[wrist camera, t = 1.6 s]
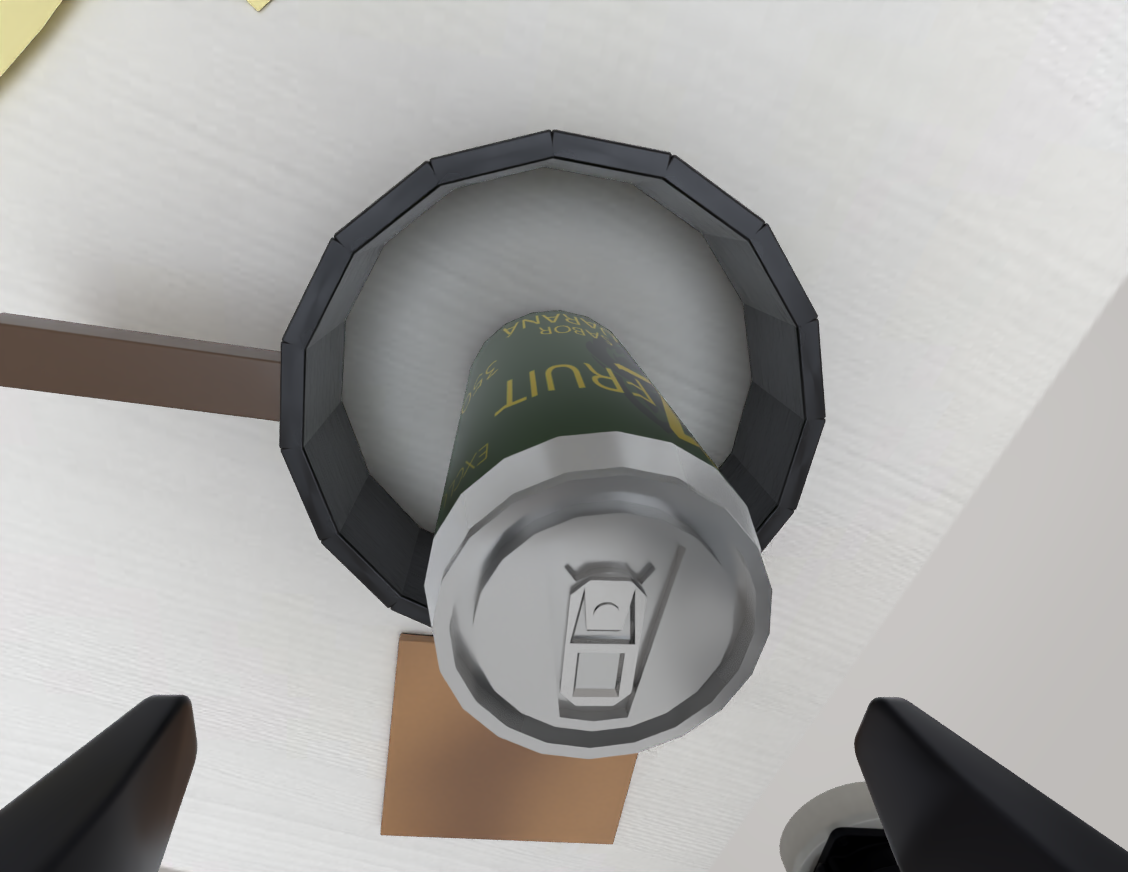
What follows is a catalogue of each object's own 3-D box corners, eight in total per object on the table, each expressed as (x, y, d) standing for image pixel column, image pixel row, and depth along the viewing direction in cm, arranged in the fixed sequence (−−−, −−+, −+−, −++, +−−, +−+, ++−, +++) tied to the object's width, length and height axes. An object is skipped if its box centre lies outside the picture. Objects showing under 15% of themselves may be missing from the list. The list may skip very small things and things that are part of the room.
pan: (822, 197, 19) (900, 197, 15) (706, 594, 24) (743, 669, 20) (48, 47, 16) (-94, -1, 12) (96, 535, 21) (5, 609, 17)
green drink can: (622, 469, 21) (749, 768, 10) (464, 462, 21) (414, 771, 10) (643, 312, 19) (826, 467, 8) (469, 299, 19) (415, 448, 8)
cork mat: (661, 654, 24) (663, 662, 24) (611, 836, 28) (612, 845, 27) (400, 633, 23) (399, 640, 23) (381, 826, 26) (380, 835, 26)
